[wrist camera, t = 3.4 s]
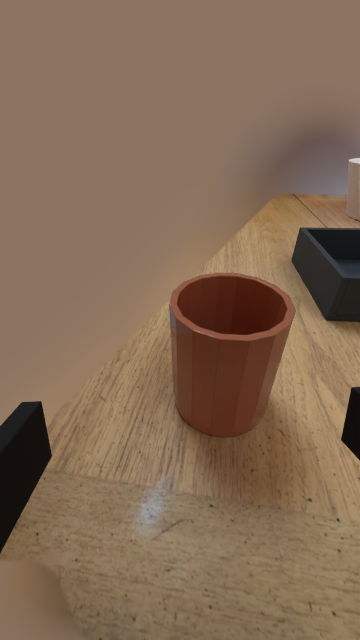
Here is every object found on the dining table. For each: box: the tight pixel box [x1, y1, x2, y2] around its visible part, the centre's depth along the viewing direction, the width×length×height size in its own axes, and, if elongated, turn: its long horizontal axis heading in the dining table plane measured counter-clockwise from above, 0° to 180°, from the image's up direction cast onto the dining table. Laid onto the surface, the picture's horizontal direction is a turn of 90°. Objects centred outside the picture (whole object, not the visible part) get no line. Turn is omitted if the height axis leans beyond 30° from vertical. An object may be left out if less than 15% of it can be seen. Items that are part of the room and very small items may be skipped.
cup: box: [169, 273, 296, 437], centre depth 20 cm, size 8×8×10 cm
